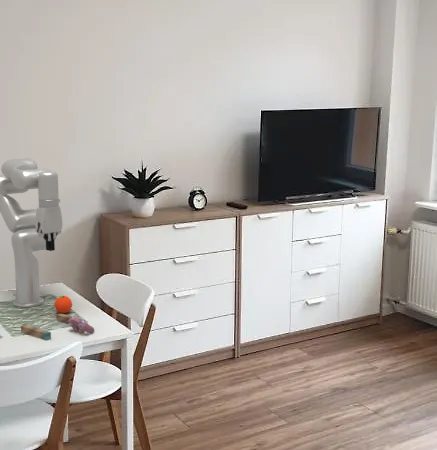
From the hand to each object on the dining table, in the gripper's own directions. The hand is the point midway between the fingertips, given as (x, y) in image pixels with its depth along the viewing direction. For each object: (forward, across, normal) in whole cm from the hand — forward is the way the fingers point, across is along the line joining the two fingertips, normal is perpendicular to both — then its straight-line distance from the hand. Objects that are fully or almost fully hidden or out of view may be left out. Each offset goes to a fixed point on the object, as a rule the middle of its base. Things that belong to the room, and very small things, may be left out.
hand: (50, 250), depth 267 cm
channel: (+27, +10, +12) cm, 31 cm away
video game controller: (+27, +6, +22) cm, 36 cm away
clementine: (+27, -6, -1) cm, 28 cm away
